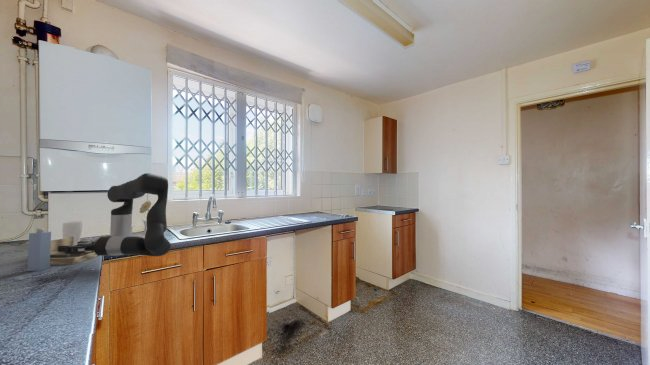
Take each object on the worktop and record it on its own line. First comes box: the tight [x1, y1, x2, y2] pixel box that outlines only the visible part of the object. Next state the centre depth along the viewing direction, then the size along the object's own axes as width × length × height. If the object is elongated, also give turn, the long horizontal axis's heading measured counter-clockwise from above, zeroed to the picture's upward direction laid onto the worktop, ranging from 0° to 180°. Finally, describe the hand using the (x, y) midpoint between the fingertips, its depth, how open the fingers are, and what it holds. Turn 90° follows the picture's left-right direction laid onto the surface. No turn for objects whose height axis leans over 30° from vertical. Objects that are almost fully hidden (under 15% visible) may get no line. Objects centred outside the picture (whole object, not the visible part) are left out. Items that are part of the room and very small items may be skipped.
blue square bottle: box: [26, 227, 52, 272], centre depth 97 cm, size 4×4×16 cm
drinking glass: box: [62, 220, 83, 245], centre depth 124 cm, size 7×7×15 cm
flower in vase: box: [138, 200, 152, 238], centre depth 146 cm, size 13×11×25 cm
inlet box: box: [50, 237, 99, 266], centre depth 110 cm, size 14×12×9 cm
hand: (68, 246), depth 99 cm, fingers open, 8 cm apart
